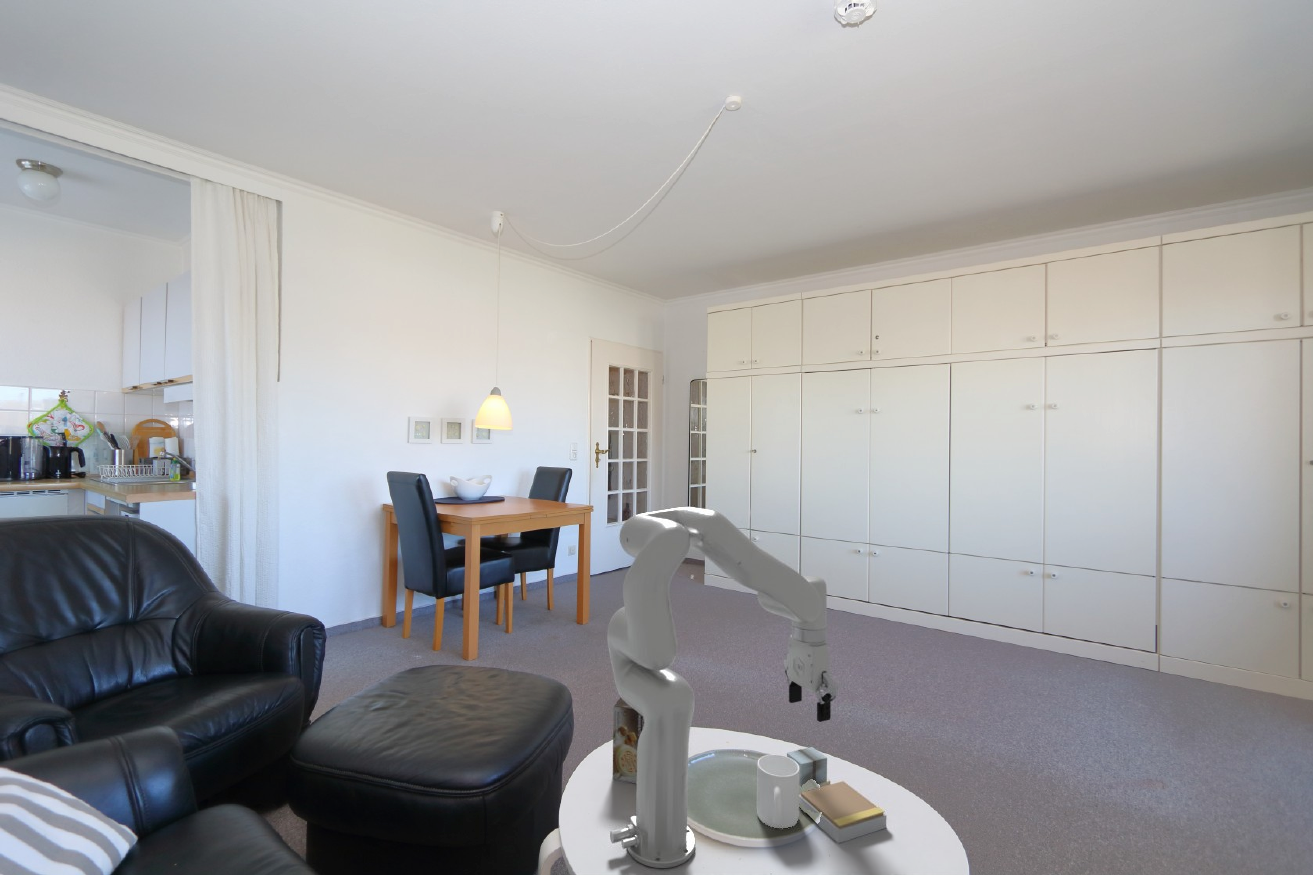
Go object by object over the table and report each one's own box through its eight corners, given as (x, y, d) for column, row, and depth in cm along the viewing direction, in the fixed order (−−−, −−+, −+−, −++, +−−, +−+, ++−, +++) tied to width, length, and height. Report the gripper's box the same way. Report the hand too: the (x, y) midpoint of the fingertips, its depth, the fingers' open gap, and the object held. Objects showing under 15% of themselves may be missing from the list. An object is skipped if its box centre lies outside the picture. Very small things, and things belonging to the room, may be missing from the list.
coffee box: (658, 771, 130) (660, 700, 130) (650, 787, 124) (651, 712, 124) (620, 764, 133) (622, 694, 133) (610, 779, 127) (612, 705, 127)
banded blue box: (797, 795, 122) (797, 764, 122) (782, 782, 127) (783, 753, 127) (830, 786, 126) (830, 756, 126) (815, 774, 131) (815, 745, 131)
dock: (838, 843, 107) (838, 825, 107) (797, 806, 118) (798, 790, 118) (886, 827, 112) (886, 811, 112) (843, 793, 123) (843, 778, 123)
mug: (799, 846, 106) (799, 790, 106) (753, 838, 108) (754, 783, 108) (798, 808, 118) (799, 757, 118) (757, 801, 120) (758, 751, 120)
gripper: (772, 624, 134) (772, 697, 134) (821, 648, 118) (821, 731, 118) (798, 620, 137) (798, 692, 137) (849, 643, 121) (849, 724, 121)
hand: (809, 710), depth 127 cm, fingers open, 9 cm apart
